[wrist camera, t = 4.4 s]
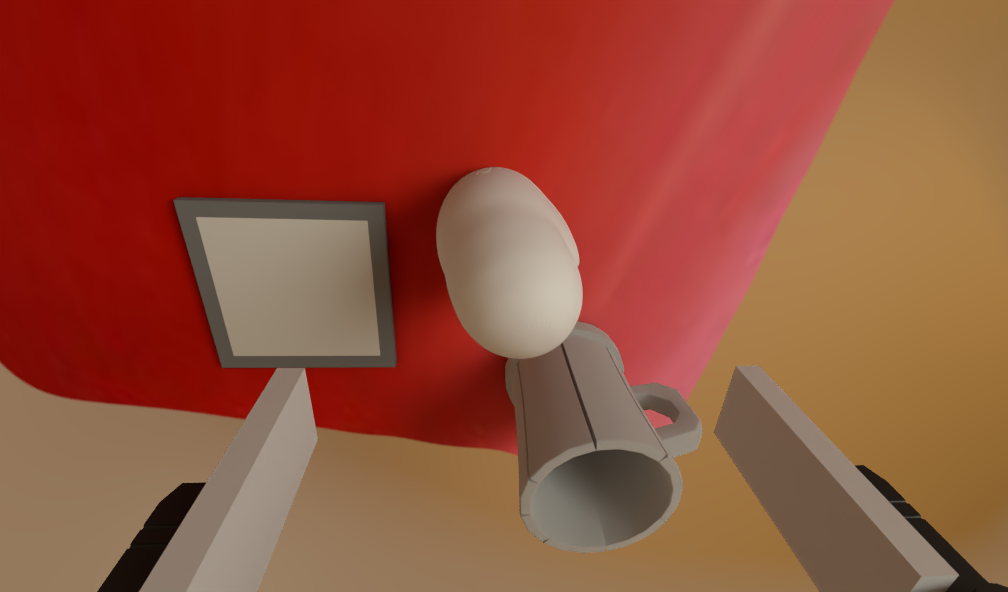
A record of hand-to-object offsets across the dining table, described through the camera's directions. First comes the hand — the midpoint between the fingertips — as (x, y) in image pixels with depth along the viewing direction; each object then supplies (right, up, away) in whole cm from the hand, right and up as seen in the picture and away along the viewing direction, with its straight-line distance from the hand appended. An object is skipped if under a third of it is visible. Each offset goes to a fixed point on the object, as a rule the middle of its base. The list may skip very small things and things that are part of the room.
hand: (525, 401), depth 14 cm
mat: (-14, +4, +16) cm, 22 cm away
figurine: (-1, +8, +15) cm, 17 cm away
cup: (+4, -2, +21) cm, 21 cm away
